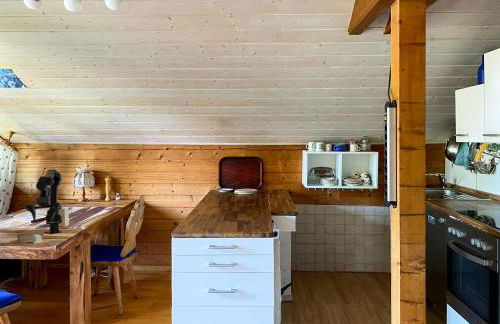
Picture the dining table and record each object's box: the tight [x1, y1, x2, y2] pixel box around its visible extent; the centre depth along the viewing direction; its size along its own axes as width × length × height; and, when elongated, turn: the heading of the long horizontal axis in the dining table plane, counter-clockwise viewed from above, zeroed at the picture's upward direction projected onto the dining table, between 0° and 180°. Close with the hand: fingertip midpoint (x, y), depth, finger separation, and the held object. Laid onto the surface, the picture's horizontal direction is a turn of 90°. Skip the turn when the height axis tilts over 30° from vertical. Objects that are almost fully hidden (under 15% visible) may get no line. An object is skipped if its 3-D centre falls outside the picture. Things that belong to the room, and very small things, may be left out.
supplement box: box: [59, 207, 70, 228], centre depth 288 cm, size 8×5×13 cm, turn 81°
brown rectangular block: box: [16, 228, 45, 243], centre depth 251 cm, size 4×14×5 cm, turn 138°
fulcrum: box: [30, 234, 44, 244], centre depth 245 cm, size 5×5×4 cm
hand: (42, 220), depth 239 cm, fingers open, 9 cm apart
